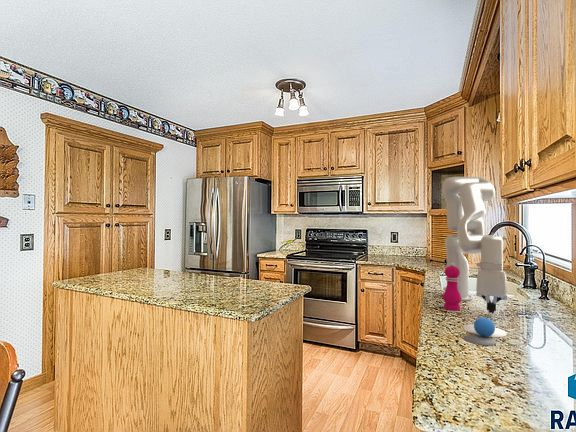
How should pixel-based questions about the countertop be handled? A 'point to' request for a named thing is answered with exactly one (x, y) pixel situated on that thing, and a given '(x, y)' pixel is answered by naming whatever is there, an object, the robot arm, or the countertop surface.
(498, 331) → the white disc
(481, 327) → the blue ball
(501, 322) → the countertop surface
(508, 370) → the countertop surface
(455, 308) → the pepper mill
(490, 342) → the charcoal disc
